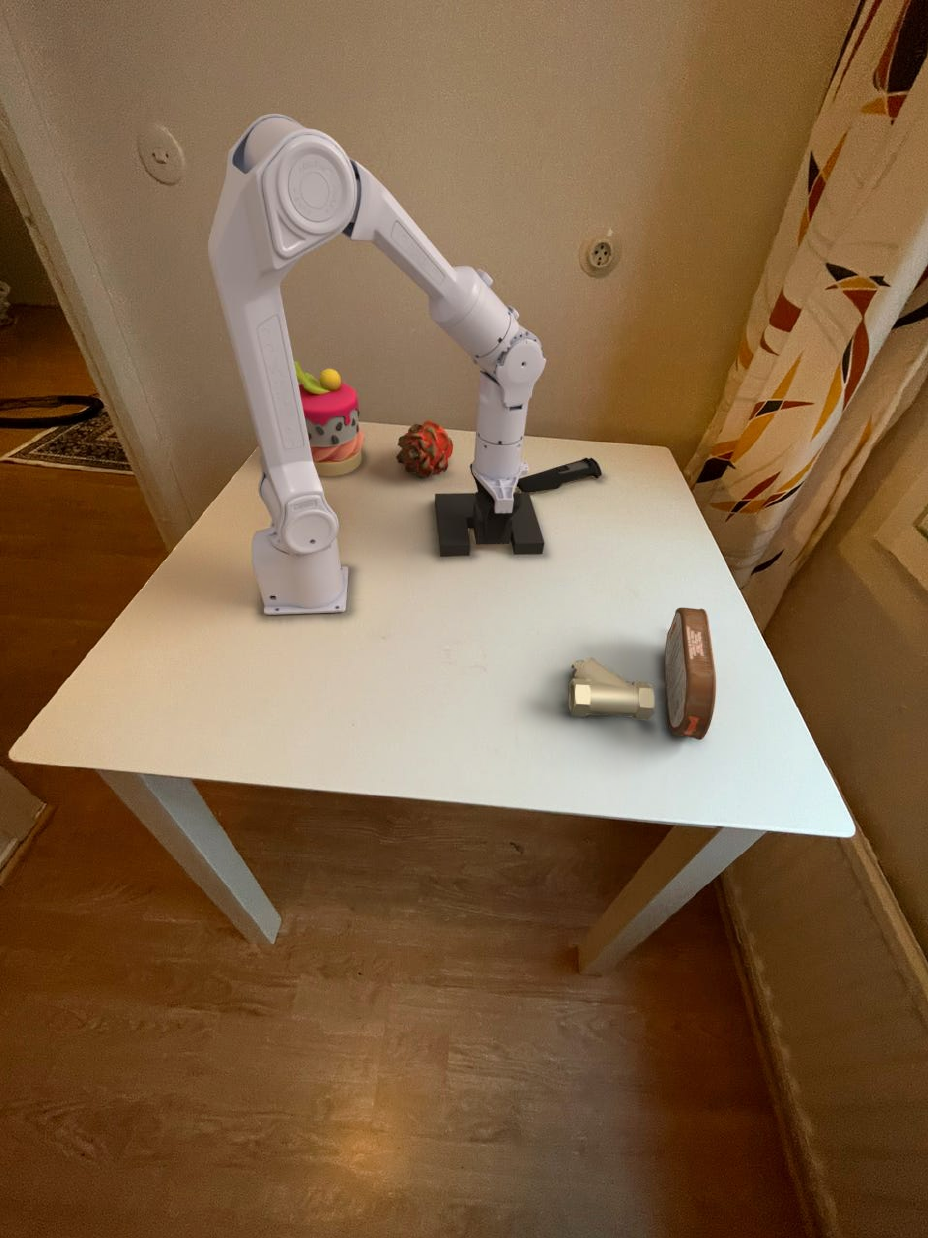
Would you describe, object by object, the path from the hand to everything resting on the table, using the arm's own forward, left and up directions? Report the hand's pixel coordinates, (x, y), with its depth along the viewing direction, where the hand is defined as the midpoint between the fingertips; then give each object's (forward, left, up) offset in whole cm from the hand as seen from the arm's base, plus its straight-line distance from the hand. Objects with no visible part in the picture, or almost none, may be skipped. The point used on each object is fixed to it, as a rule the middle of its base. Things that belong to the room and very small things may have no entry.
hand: (490, 526), depth 76 cm
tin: (+17, -27, -3) cm, 32 cm away
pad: (0, 0, -1) cm, 1 cm away
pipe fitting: (+9, -27, -3) cm, 29 cm away
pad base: (0, +3, -3) cm, 4 cm away
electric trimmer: (+13, +14, -3) cm, 19 cm away
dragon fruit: (-8, +19, -3) cm, 21 cm away
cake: (-23, +22, -3) cm, 32 cm away
